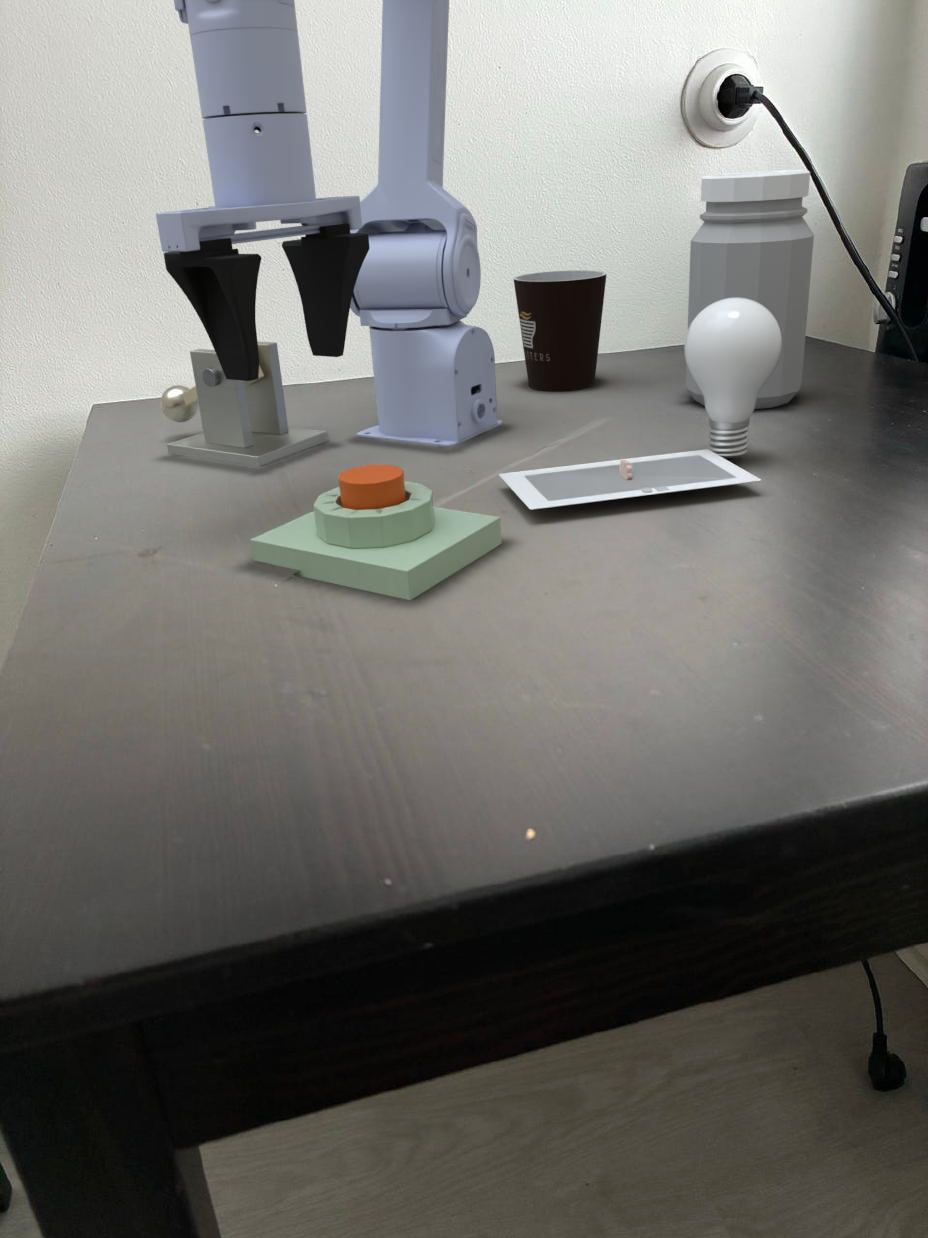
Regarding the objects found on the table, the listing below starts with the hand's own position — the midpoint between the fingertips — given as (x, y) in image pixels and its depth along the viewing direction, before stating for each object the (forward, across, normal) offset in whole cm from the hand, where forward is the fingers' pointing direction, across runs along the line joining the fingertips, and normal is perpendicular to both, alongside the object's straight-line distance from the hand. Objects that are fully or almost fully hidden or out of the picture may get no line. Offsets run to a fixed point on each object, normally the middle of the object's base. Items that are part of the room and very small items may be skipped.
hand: (287, 366), depth 61 cm
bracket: (+9, -10, -15) cm, 20 cm away
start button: (+6, +4, +9) cm, 12 cm away
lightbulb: (+10, -22, +20) cm, 31 cm away
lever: (+6, -10, -18) cm, 22 cm away
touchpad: (+10, -12, +17) cm, 23 cm away
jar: (+10, -40, +15) cm, 44 cm away
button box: (+10, +4, +9) cm, 14 cm away
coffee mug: (+10, -42, -4) cm, 43 cm away
